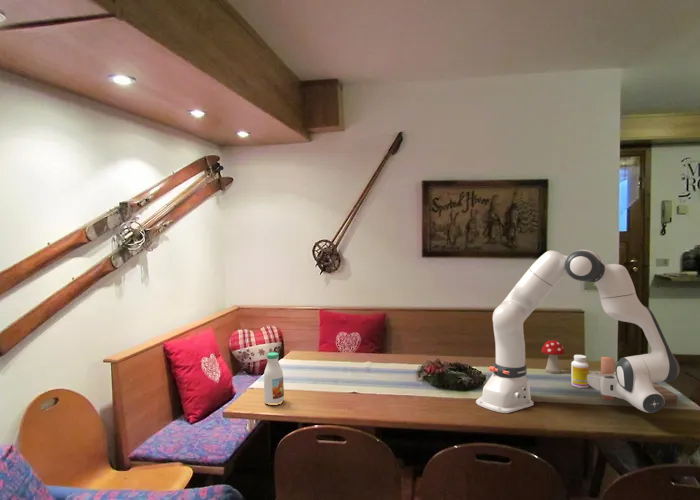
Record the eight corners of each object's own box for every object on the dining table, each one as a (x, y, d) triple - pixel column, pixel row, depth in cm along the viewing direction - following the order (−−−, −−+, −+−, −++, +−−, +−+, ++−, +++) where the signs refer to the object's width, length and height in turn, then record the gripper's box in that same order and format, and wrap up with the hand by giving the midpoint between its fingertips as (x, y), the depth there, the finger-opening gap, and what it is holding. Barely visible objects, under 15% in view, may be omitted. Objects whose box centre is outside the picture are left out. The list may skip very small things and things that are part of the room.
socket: (676, 405, 165) (677, 395, 165) (637, 405, 167) (637, 394, 166) (655, 391, 179) (655, 382, 179) (618, 391, 180) (618, 381, 180)
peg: (611, 401, 171) (611, 360, 170) (599, 398, 174) (599, 358, 173) (615, 398, 173) (615, 358, 172) (603, 395, 177) (603, 355, 176)
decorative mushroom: (560, 369, 209) (560, 338, 209) (567, 375, 201) (567, 342, 200) (539, 369, 210) (538, 338, 210) (545, 375, 202) (545, 342, 201)
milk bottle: (265, 407, 173) (263, 357, 172) (263, 400, 180) (262, 351, 179) (285, 404, 175) (283, 355, 174) (282, 397, 182) (281, 350, 181)
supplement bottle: (591, 389, 184) (591, 358, 183) (573, 388, 185) (573, 358, 184) (585, 383, 190) (585, 354, 189) (569, 382, 191) (569, 353, 191)
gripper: (656, 377, 159) (633, 365, 173) (598, 378, 160) (580, 366, 174) (656, 395, 160) (633, 381, 173) (598, 395, 161) (580, 381, 174)
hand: (606, 373), depth 174 cm, fingers open, 8 cm apart
